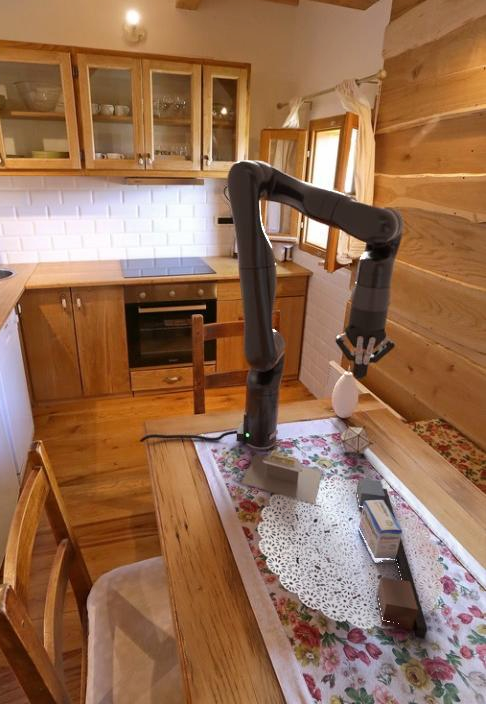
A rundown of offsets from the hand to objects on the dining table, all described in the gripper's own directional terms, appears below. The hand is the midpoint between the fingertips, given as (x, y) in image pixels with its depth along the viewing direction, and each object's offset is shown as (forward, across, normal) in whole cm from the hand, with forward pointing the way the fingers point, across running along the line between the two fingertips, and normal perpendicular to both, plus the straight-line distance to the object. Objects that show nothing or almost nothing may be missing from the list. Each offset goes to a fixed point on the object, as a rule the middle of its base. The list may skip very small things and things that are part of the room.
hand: (358, 377), depth 92 cm
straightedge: (+29, -8, +20) cm, 36 cm away
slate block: (+29, -5, +7) cm, 30 cm away
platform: (+29, +15, +2) cm, 33 cm away
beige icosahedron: (+29, -4, -12) cm, 32 cm away
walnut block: (+29, -5, +32) cm, 44 cm away
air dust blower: (+29, -3, -30) cm, 42 cm away
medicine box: (+29, -5, +19) cm, 35 cm away
